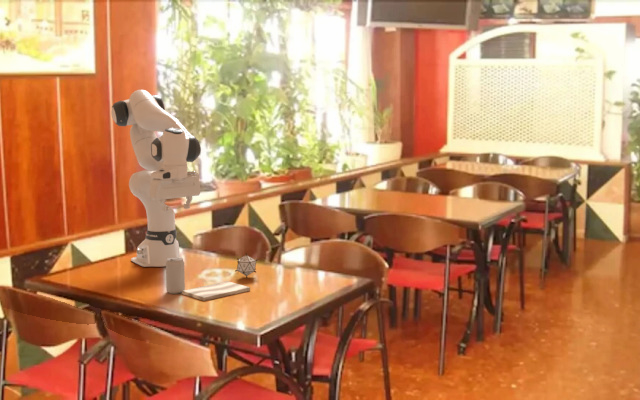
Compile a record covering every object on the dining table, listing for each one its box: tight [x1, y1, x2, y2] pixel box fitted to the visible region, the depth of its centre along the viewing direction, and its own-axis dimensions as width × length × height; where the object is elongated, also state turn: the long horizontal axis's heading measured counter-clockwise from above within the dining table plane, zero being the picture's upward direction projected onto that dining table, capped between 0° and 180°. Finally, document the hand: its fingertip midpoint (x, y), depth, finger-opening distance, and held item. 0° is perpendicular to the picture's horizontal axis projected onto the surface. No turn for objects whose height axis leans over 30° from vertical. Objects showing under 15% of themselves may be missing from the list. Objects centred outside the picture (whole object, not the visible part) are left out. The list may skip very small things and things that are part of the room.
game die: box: [234, 252, 259, 279], centre depth 290 cm, size 9×8×10 cm
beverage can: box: [165, 257, 186, 295], centre depth 270 cm, size 6×6×12 cm
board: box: [181, 280, 251, 302], centre depth 270 cm, size 13×20×1 cm, turn 134°
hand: (176, 209), depth 284 cm, fingers open, 8 cm apart
